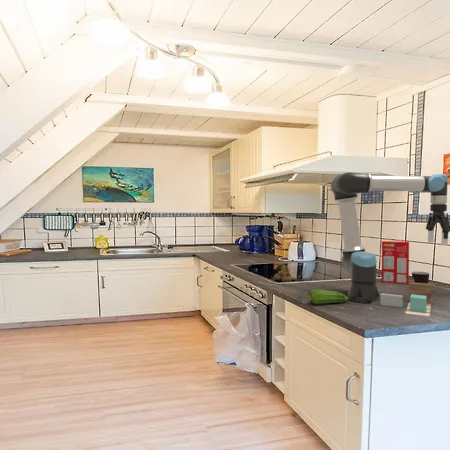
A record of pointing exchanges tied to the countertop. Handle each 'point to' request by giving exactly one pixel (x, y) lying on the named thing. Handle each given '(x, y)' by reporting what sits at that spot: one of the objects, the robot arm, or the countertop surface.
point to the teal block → (418, 303)
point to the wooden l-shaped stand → (420, 290)
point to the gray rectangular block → (391, 300)
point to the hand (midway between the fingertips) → (437, 243)
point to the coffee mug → (420, 277)
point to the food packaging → (395, 262)
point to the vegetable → (325, 297)
